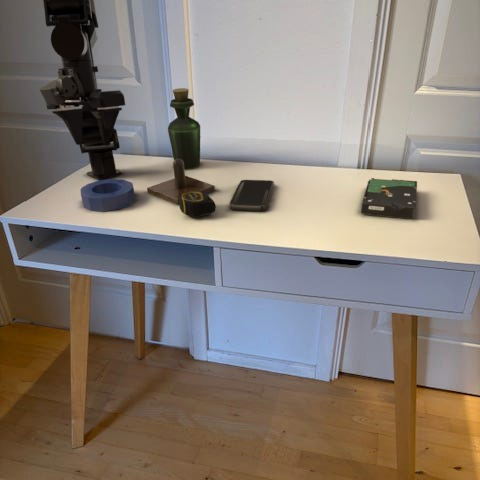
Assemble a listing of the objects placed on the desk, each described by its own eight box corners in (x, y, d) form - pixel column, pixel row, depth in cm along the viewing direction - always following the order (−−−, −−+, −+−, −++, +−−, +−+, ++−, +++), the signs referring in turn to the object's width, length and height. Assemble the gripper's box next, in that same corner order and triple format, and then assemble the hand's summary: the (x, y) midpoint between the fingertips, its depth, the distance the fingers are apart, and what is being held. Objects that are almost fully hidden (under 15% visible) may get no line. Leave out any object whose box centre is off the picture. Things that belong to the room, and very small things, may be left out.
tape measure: (217, 217, 100) (216, 199, 98) (184, 222, 99) (182, 204, 96) (208, 204, 105) (207, 188, 103) (177, 209, 104) (175, 192, 102)
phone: (228, 204, 102) (241, 179, 114) (229, 210, 103) (241, 184, 115) (266, 206, 101) (275, 180, 113) (266, 211, 101) (275, 185, 113)
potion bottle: (205, 168, 125) (200, 91, 114) (173, 172, 123) (165, 94, 113) (200, 159, 131) (194, 85, 121) (170, 162, 130) (161, 88, 119)
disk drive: (414, 221, 96) (415, 192, 108) (416, 207, 95) (417, 179, 106) (360, 216, 99) (366, 188, 110) (361, 202, 97) (368, 176, 108)
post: (147, 192, 112) (142, 159, 108) (184, 179, 119) (181, 148, 114) (178, 205, 106) (174, 170, 102) (215, 190, 112) (213, 157, 108)
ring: (73, 202, 109) (70, 189, 107) (116, 188, 115) (114, 175, 114) (101, 215, 103) (98, 202, 101) (145, 199, 109) (143, 186, 107)
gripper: (13, 66, 96) (33, 149, 103) (71, 59, 86) (89, 152, 93) (62, 64, 104) (77, 142, 111) (120, 57, 94) (133, 144, 101)
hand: (92, 145), depth 104 cm, fingers open, 9 cm apart
